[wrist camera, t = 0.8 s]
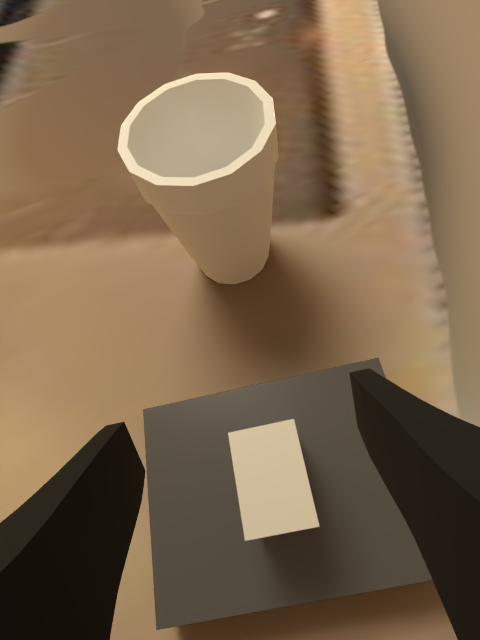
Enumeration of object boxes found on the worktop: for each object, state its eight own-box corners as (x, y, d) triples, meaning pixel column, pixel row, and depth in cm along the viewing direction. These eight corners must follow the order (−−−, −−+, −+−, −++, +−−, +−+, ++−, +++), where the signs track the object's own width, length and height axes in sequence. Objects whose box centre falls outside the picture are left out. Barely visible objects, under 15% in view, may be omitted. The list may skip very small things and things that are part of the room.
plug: (315, 517, 24) (319, 526, 17) (263, 528, 24) (245, 540, 17) (297, 440, 26) (293, 418, 19) (249, 450, 26) (227, 432, 19)
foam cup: (293, 214, 34) (286, 69, 23) (279, 304, 31) (262, 187, 19) (195, 210, 36) (142, 76, 25) (170, 294, 33) (95, 183, 21)
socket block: (439, 566, 22) (457, 575, 19) (174, 614, 23) (156, 629, 20) (371, 371, 27) (378, 357, 24) (158, 418, 28) (143, 409, 26)
